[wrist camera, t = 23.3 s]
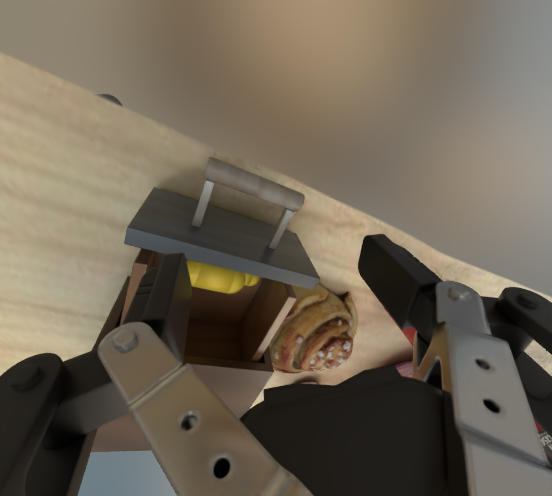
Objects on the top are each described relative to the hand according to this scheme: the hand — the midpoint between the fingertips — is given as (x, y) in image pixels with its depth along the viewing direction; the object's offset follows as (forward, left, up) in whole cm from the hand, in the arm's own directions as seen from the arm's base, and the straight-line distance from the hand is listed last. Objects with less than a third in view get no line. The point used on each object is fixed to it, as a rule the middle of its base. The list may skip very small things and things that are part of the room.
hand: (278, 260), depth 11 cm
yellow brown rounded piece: (0, -10, -11) cm, 15 cm away
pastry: (+13, -15, -14) cm, 24 cm away
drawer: (0, -8, -12) cm, 15 cm away
